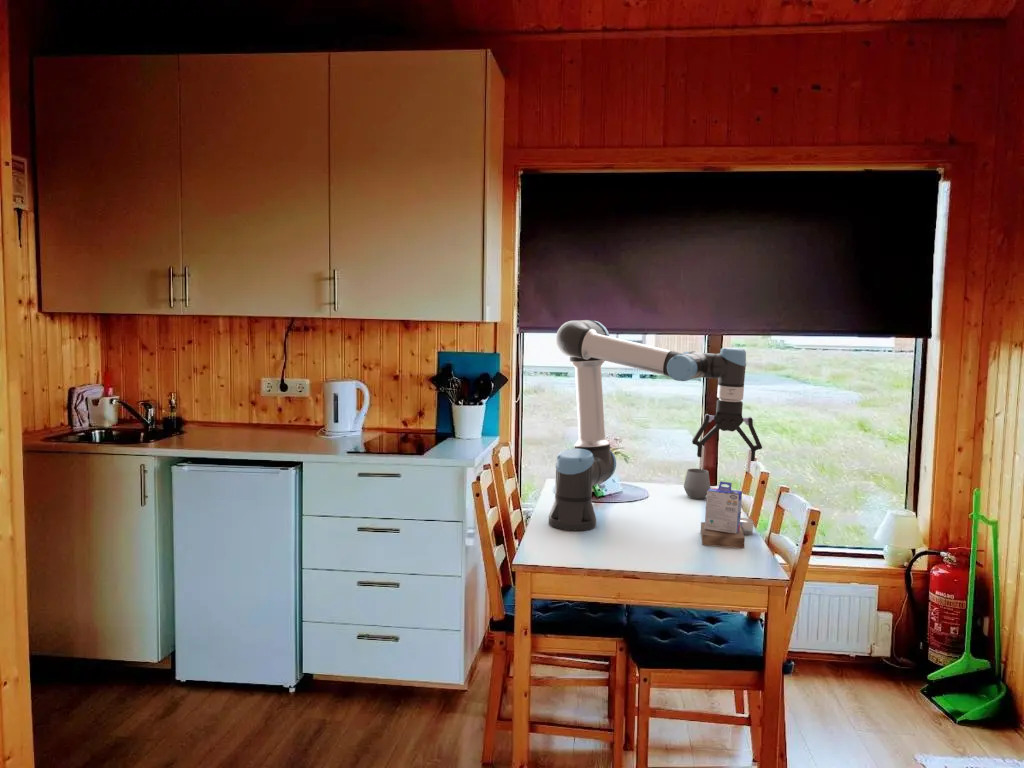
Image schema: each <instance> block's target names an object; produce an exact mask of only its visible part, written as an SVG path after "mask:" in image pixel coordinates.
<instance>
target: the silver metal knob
mask: <svg viewBox="0 0 1024 768" xmlns="http://www.w3.org/2000/svg"><path fill="white" fill-rule="evenodd" d="M740 525H741V528H742V531H743V534H744V536H751V535H753V532H754V520H753V519H752V518H747V517H740Z"/></svg>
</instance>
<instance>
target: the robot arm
mask: <svg viewBox="0 0 1024 768" xmlns="http://www.w3.org/2000/svg"><path fill="white" fill-rule="evenodd" d="M555 342H556V346H557V348H558V350H559V352H561V353H562V354H564V355H565V356H567V357H569V363H570V364H571V365H572V366H573V368H574V373H575V374H574V375H575V389H576V390H575V392H576V407H577V409H576V410H577V431H578V440H577V441H576V442H575V443H574V448H571V449H570V448H569V449H568V448H567V449H564V450H561V451H560V452H559V453H558V454H557V455H556V462H555V479H554V480H555V481H554V482H555V485H554V489H555V490H554V501H553V504H552V506H551V510H550V512H549V515H548V525H549V526H550V527H552V528H554V529H558V530H564V531H575V532H576V531H578V532H579V531H587V530H588V531H589V530H591V529H594V528H596V527H597V516H596V514H595V513H596V511H595V510H594V506H593V502H592V501H593V500H592V498H593V497H592V495H593V487H594V486H596V485H599V484H603V483H605V482H607V481H608V480H609V479H610V478H612V476H613V475H614V473H615V471H616V468H617V459H616V455H615V454H614V453H613V452H612V450H611V444H610V441H609V440H607V438H606V435H605V434H606V433H605V432H606V431H605V415H604V399H603V398H604V397H603V396H604V395H603V380H602V379H603V378H602V365H603V364H604V363H605V362H608V363H614V364H617V365H621V366H625V367H629V368H634V369H637V370H640V371H641V370H642V371H647V372H651V373H655V374H658V375H663V376H666V377H670V378H671V379H673V380H675V381H678V382H686V381H690V380H694V379H699V378H705V379H715V380H716V379H717V381H718V382H717V391H716V392H717V394H716V397H717V398H718V399H717V400H716V409H715V414H714V415H712V414H711V415H710V414H709V413H705V414H704V419H703V421H702V423H701V425H700V426H699V428H698V430H697V431H696V433H695V435H694V436H693V438H692V440H691V443H692V445H695V446H696V447H697V457H698V458H700V464H699V465H700V466H699V467H700V468H699V469H704V461H705V449H706V448H705V444H706V443H707V442H708V441H709V440H710V439H711V438H712V437H713V436H714V435H715V434H716V433H717V432H719V431H720V430H721V431H722V432H726V431H728V432H735V431H737V433H738V434H739V436H740V437H741V438H742V440H744V442H745V443H746V445H747V446H748V447H749V448H750V449H747V457H746V459H747V460H746V470H745V471H746V472H747V473H750V474H751V462H755V460H756V451H757V450H762V449H763V446H762V443H761V441H760V439H759V436H758V434H757V432H756V429H755V427H754V424H753V423H754V420H753V417H752V416H749V417H743V405H744V403H743V401H742V400H744V388H745V378H746V367H747V352H746V350H745V349H743V348H740V347H739V348H738V347H721V349H720V352H719V353H708V352H700V351H699V352H698V351H683V352H680V351H679V352H678V351H673V350H670V349H665V348H661V347H657V346H653V345H649V344H644V343H640V342H635V341H630V340H627V339H621V338H618V337H613V336H610V333H609V331H608V329H607V327H606V326H604V324H603V323H601V322H600V321H596V320H592V319H583V320H581V319H580V320H569V321H566V322H564V323H563V324H562V325H560V327H559V328H558V330H557V332H556V335H555ZM713 420H714V422H715V423H716V424H715V425H714V426H713V428H711V429H710V430H709V431H708V433H706V434H705V435H704V436H703V437H702V438H701V436H702V435H703V433H704V431H705V429H706V428H707V426H708V424H709V423H711V422H712V421H713ZM743 422H744V423H745V425H747V426H748V429H749V431H750V432H751V436H752V438H753V440H754V442H755V445H754V444H753V442H752V441H751V440H750V438H749V437H748V436H747V434H746V433H745V432H744V431H743V430H742V428H741V427H740V426H741V425H742V424H743ZM700 438H701V439H700ZM699 439H700V440H699Z"/></svg>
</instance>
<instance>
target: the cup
mask: <svg viewBox="0 0 1024 768" xmlns="http://www.w3.org/2000/svg"><path fill="white" fill-rule="evenodd" d="M710 481H711V480H710V473H709V470H707V469H704V468H703V469H700V468H688V469H687V471H686V475H685V478H684V483H683V489H684V491H685V494H686V495H687V497H688V498H690V499H694V500H702V499H705V498H706V497H707V491H708V490H709V489H710V488H711V482H710Z"/></svg>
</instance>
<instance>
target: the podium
mask: <svg viewBox="0 0 1024 768" xmlns="http://www.w3.org/2000/svg"><path fill="white" fill-rule="evenodd" d="M700 538H701V545H703V546H714V547H726V548H735V547H736V548H735V549H745V541H746V540H745V535H744V534H743V531H742V528H741V525H740V530H739V531H738V533H737V534H734V533H728V532H721V531H714V530H707V529H705V521H702V522H700Z"/></svg>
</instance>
